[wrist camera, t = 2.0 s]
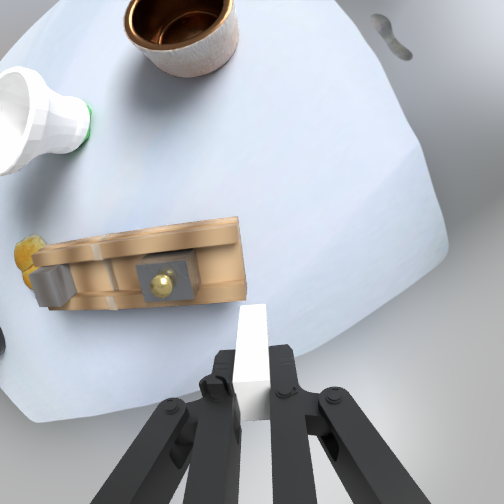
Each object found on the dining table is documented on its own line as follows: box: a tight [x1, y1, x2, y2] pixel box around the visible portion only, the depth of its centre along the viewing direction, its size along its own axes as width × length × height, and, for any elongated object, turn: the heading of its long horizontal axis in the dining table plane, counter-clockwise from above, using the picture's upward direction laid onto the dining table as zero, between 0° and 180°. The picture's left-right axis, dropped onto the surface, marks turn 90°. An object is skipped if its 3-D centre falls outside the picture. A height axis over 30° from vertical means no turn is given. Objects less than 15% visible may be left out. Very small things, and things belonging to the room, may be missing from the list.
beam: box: [28, 216, 247, 310], centre depth 30 cm, size 26×8×10 cm, turn 96°
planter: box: [123, 0, 239, 78], centre depth 22 cm, size 11×11×10 cm
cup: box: [0, 67, 91, 176], centre depth 23 cm, size 11×11×14 cm
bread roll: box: [14, 234, 47, 290], centre depth 34 cm, size 8×9×4 cm
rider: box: [135, 248, 201, 302], centre depth 26 cm, size 5×4×5 cm
